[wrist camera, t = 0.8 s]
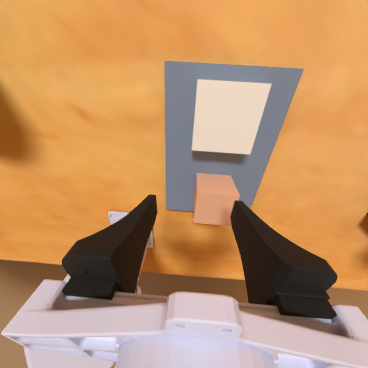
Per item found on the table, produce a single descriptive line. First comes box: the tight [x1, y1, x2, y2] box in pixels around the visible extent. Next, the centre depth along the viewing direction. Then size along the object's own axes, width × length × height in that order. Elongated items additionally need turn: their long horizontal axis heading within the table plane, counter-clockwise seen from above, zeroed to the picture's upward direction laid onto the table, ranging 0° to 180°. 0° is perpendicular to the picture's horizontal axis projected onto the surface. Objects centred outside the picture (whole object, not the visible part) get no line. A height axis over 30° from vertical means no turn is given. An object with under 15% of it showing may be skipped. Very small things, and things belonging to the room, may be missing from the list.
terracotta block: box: [193, 173, 240, 226], centre depth 21 cm, size 5×5×5 cm
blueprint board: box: [165, 61, 303, 212], centre depth 20 cm, size 20×14×3 cm
